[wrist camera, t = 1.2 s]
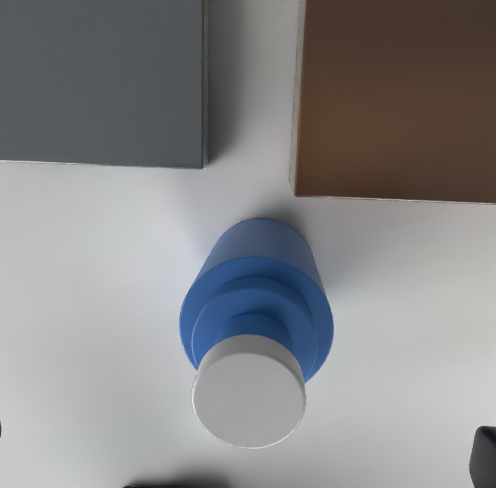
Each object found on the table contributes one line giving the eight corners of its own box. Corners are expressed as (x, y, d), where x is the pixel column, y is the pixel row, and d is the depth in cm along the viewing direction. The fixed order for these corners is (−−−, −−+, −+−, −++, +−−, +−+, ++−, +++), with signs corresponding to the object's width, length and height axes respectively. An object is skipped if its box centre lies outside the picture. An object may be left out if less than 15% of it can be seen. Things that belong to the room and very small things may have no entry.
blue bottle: (310, 321, 18) (345, 497, 9) (209, 315, 19) (146, 480, 9) (318, 220, 17) (368, 309, 8) (210, 215, 17) (138, 296, 8)
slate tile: (208, 167, 17) (202, 169, 16) (7, 160, 17) (-13, 161, 16) (209, -78, 15) (203, -97, 13) (-22, -79, 15) (-47, -97, 14)
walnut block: (530, 192, 16) (623, 210, 12) (288, 182, 17) (293, 196, 12) (592, -94, 14) (740, -205, 9) (305, -94, 14) (318, -199, 10)
